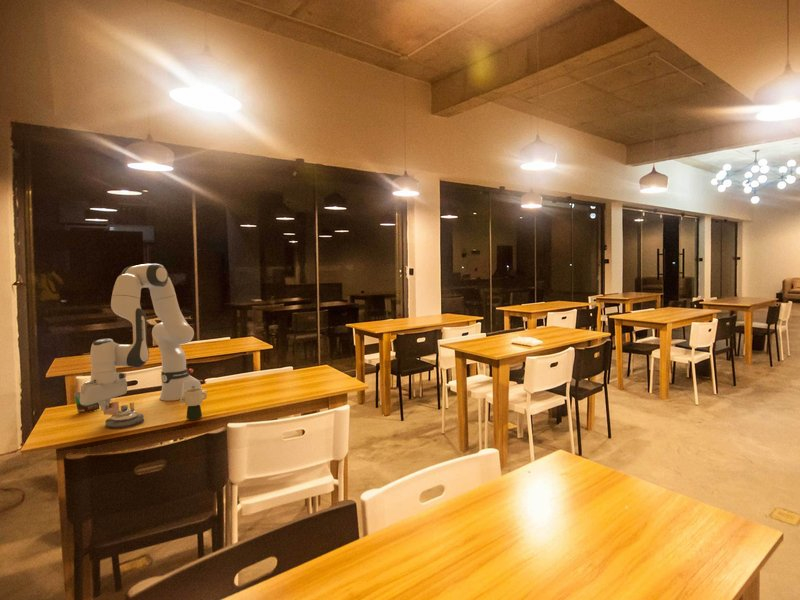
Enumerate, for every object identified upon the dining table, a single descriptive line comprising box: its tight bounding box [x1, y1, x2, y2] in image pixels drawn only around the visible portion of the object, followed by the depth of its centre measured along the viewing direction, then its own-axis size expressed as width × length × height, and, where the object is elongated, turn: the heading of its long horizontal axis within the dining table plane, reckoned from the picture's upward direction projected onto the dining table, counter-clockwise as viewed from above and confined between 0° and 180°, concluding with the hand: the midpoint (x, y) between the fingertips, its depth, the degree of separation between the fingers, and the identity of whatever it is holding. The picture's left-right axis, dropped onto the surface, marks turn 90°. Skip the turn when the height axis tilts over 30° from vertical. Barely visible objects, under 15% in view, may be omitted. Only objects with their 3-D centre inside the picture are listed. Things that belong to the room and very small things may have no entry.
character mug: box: [179, 387, 208, 421], centre depth 193 cm, size 11×7×13 cm, turn 128°
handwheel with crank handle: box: [104, 402, 145, 430], centre depth 189 cm, size 14×14×8 cm
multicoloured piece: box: [103, 401, 139, 422], centre depth 189 cm, size 14×10×7 cm
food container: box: [73, 391, 100, 414], centre depth 207 cm, size 12×6×10 cm, turn 168°
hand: (104, 409), depth 187 cm, fingers closed
